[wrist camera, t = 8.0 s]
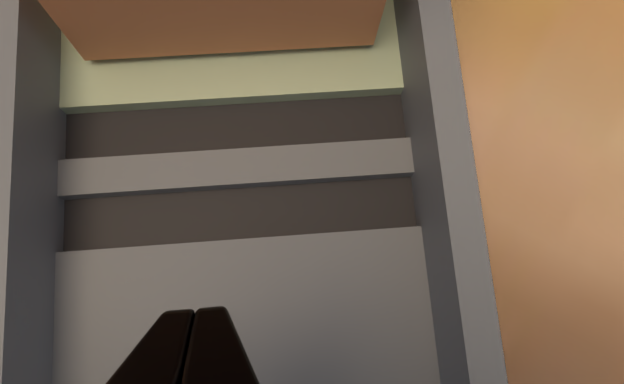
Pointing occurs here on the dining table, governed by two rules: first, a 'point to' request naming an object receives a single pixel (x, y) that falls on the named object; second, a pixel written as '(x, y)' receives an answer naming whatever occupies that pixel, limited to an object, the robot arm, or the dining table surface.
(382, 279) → the gray open tray
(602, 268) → the dining table surface
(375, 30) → the terracotta block
